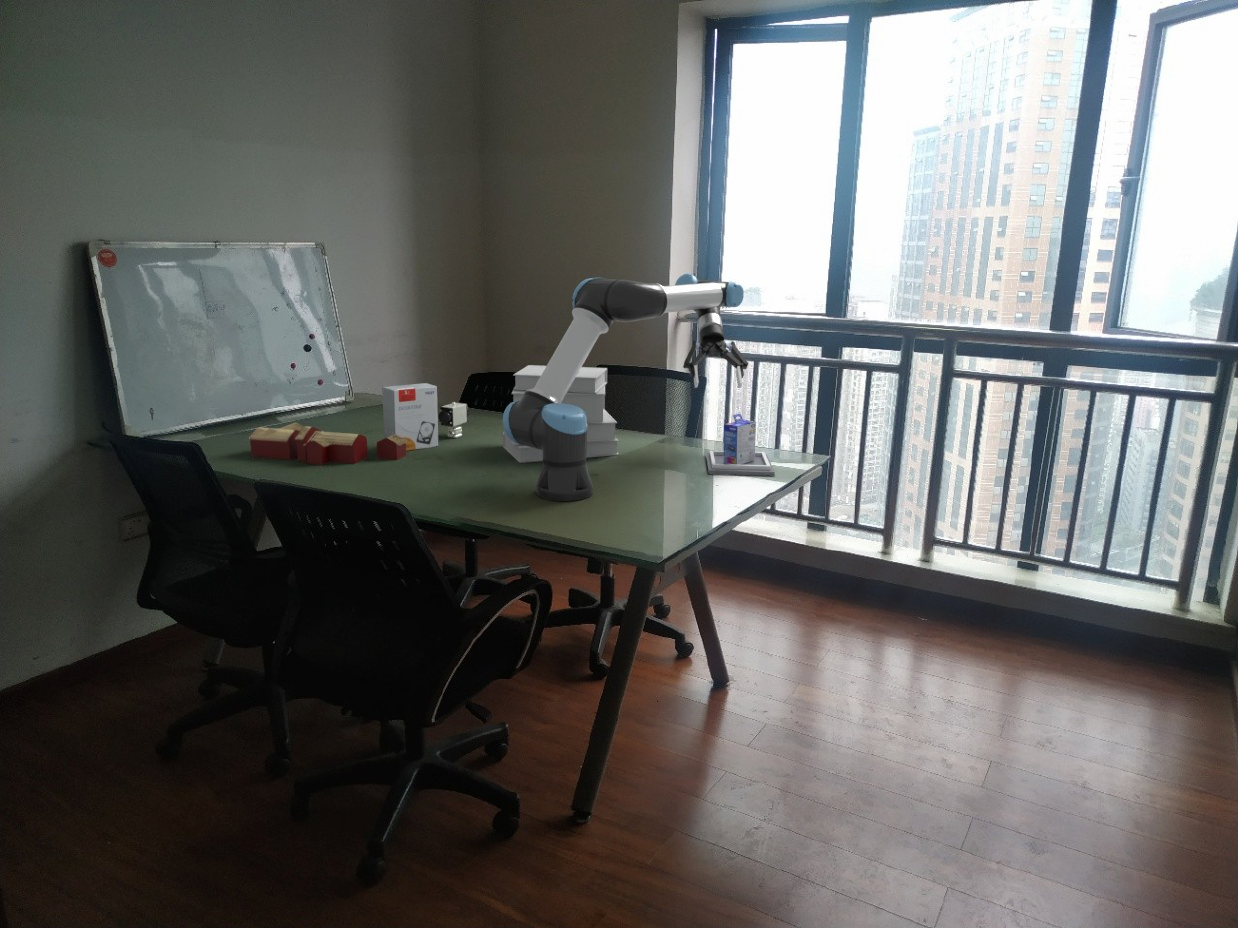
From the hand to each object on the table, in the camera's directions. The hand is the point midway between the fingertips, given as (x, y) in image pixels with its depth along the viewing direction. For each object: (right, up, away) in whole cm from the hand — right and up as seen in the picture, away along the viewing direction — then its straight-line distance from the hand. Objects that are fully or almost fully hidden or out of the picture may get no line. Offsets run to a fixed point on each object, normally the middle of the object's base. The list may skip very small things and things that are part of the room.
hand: (718, 385), depth 265 cm
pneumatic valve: (-86, -15, +28) cm, 92 cm away
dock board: (+6, -25, -3) cm, 25 cm away
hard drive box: (-97, -19, +13) cm, 100 cm away
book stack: (-49, -20, +12) cm, 55 cm away
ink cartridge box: (+6, -24, -3) cm, 24 cm away
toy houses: (-119, -22, +1) cm, 121 cm away
